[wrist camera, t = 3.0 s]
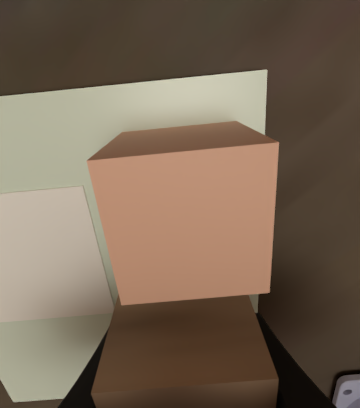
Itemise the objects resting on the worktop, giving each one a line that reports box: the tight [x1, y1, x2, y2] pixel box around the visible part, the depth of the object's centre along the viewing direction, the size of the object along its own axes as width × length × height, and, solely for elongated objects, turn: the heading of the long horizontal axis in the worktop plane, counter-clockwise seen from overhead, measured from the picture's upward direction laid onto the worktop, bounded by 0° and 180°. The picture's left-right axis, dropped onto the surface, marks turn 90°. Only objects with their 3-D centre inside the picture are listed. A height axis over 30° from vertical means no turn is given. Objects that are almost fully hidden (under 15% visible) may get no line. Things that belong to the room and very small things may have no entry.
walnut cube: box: [91, 294, 279, 408], centre depth 10 cm, size 5×5×5 cm
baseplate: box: [0, 70, 267, 402], centre depth 12 cm, size 16×14×1 cm
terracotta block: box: [87, 121, 279, 305], centre depth 8 cm, size 4×4×4 cm
